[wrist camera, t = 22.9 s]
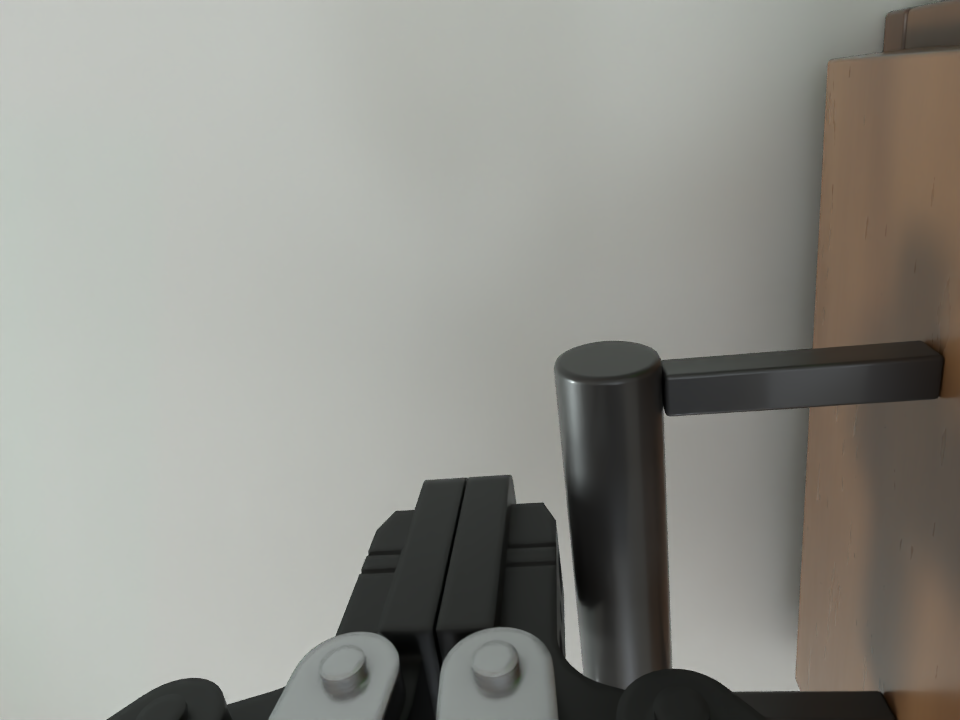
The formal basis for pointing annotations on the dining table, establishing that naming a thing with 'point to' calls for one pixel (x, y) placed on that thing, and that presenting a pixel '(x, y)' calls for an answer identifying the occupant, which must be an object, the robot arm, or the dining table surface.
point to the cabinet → (923, 26)
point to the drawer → (813, 425)
